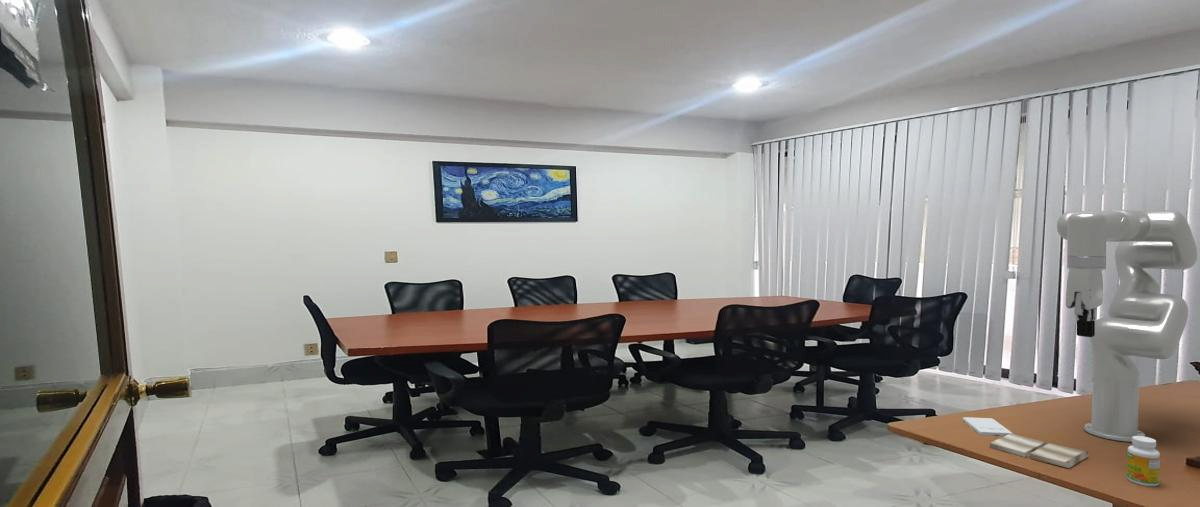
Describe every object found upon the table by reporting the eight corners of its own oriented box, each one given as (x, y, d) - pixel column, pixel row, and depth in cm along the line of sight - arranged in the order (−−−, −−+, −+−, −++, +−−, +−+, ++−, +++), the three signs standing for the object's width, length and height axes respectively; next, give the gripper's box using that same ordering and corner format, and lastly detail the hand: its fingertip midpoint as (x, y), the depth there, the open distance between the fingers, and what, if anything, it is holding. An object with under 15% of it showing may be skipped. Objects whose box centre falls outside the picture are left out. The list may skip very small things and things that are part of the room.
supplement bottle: (1120, 477, 137) (1121, 435, 137) (1141, 476, 138) (1143, 434, 137) (1143, 487, 132) (1144, 443, 132) (1165, 486, 133) (1167, 442, 132)
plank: (1049, 447, 155) (1049, 442, 155) (1088, 456, 149) (1088, 450, 149) (1029, 458, 149) (1029, 452, 149) (1068, 468, 142) (1068, 462, 142)
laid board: (1010, 437, 163) (1010, 433, 163) (1048, 447, 156) (1048, 442, 156) (989, 447, 156) (989, 442, 156) (1027, 458, 149) (1027, 453, 149)
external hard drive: (993, 423, 176) (1013, 438, 164) (962, 422, 178) (980, 437, 165) (993, 418, 176) (1014, 432, 164) (962, 416, 177) (980, 431, 165)
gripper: (1079, 259, 157) (1079, 329, 159) (1055, 264, 149) (1055, 338, 151) (1116, 260, 151) (1115, 333, 153) (1093, 266, 143) (1092, 343, 144)
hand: (1085, 335), depth 152 cm, fingers closed
